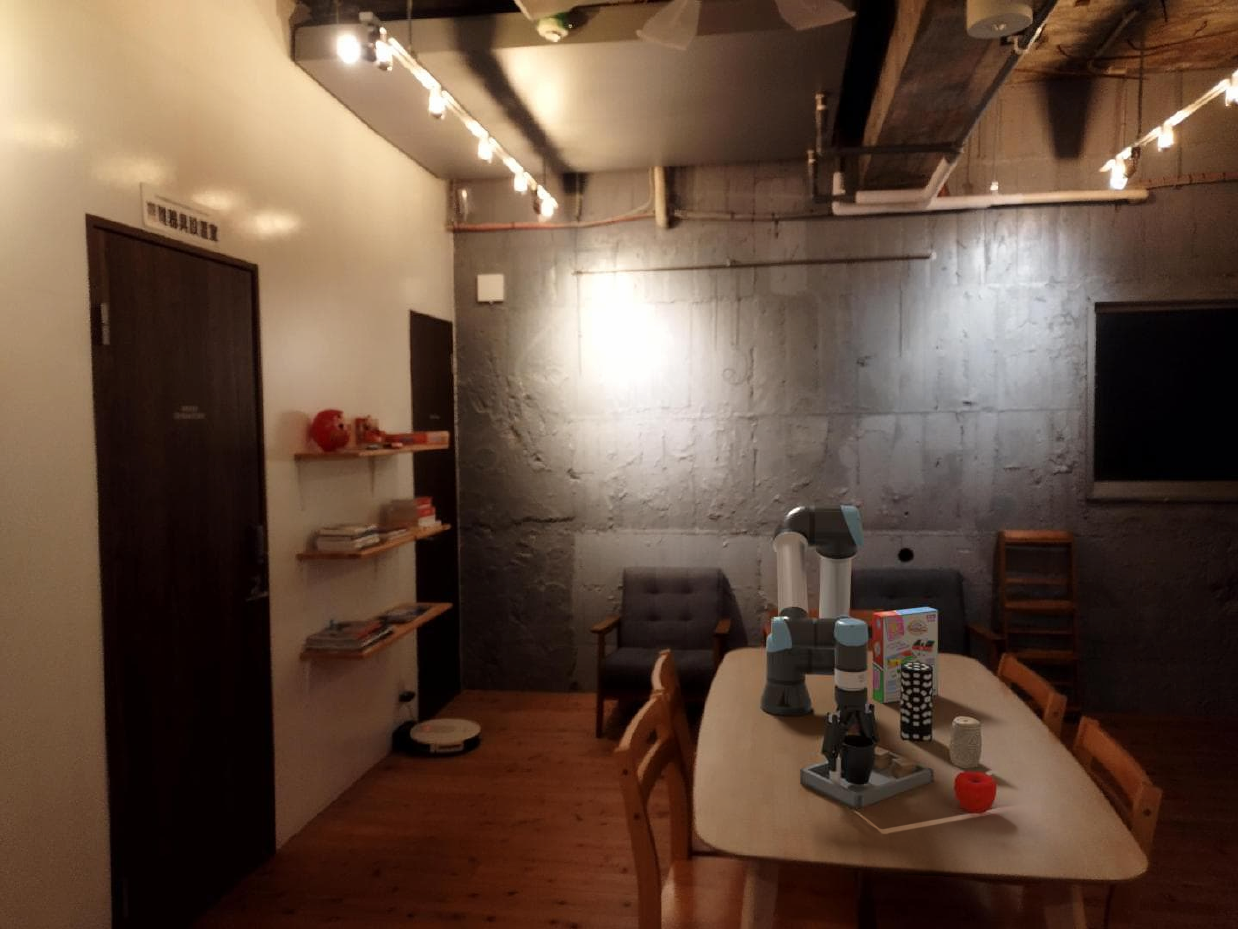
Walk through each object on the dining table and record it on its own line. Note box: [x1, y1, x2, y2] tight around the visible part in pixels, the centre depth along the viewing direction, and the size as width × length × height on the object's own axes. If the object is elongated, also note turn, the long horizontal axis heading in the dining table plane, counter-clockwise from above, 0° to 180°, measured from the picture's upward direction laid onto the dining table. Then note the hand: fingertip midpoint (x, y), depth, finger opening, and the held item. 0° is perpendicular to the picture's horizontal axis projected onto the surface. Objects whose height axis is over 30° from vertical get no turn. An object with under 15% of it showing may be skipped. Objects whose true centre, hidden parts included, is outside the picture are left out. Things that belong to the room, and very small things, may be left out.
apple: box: [953, 771, 997, 814], centre depth 192 cm, size 9×9×8 cm
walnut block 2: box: [892, 756, 917, 779], centre depth 208 cm, size 4×4×4 cm
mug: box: [824, 733, 876, 785], centre depth 204 cm, size 8×12×10 cm
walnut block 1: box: [873, 746, 890, 771], centre depth 215 cm, size 4×4×4 cm
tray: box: [799, 746, 934, 813], centre depth 207 cm, size 18×26×4 cm
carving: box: [949, 715, 983, 769], centre depth 216 cm, size 6×8×12 cm
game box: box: [872, 606, 939, 704], centre depth 267 cm, size 21×6×27 cm, turn 108°
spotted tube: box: [899, 662, 934, 743], centre depth 234 cm, size 8×8×20 cm
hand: (850, 778), depth 204 cm, fingers closed on mug, 10 cm apart
